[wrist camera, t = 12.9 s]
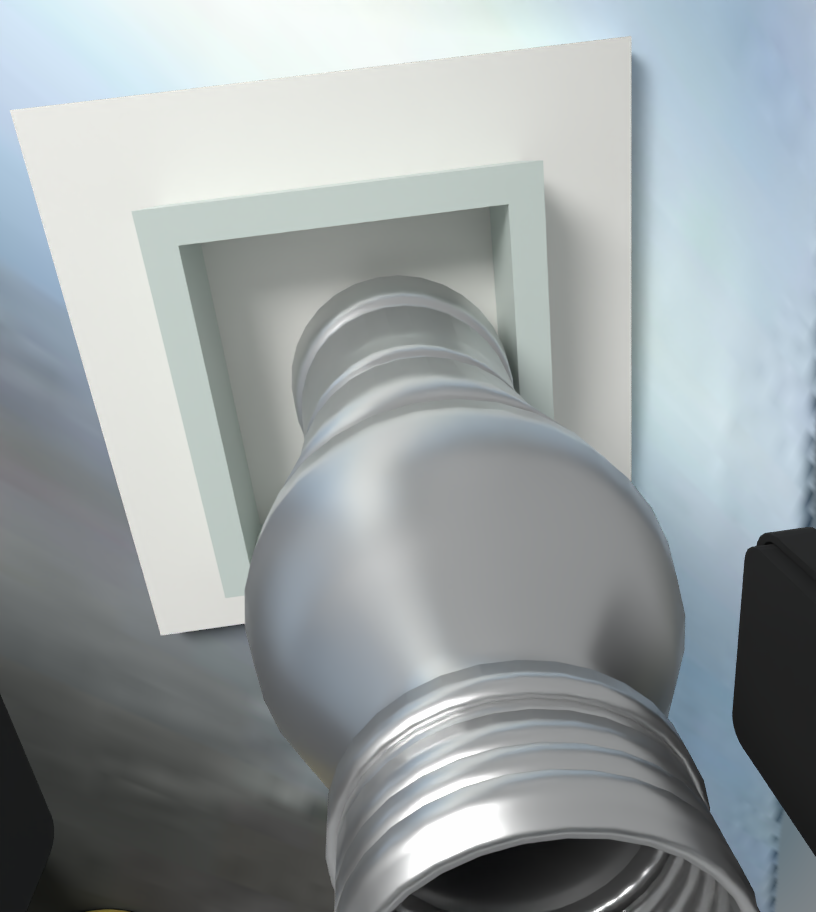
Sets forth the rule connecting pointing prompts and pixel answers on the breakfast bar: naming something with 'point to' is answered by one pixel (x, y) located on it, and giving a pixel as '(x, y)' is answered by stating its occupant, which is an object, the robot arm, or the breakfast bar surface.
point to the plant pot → (108, 910)
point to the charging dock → (325, 265)
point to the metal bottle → (474, 634)
